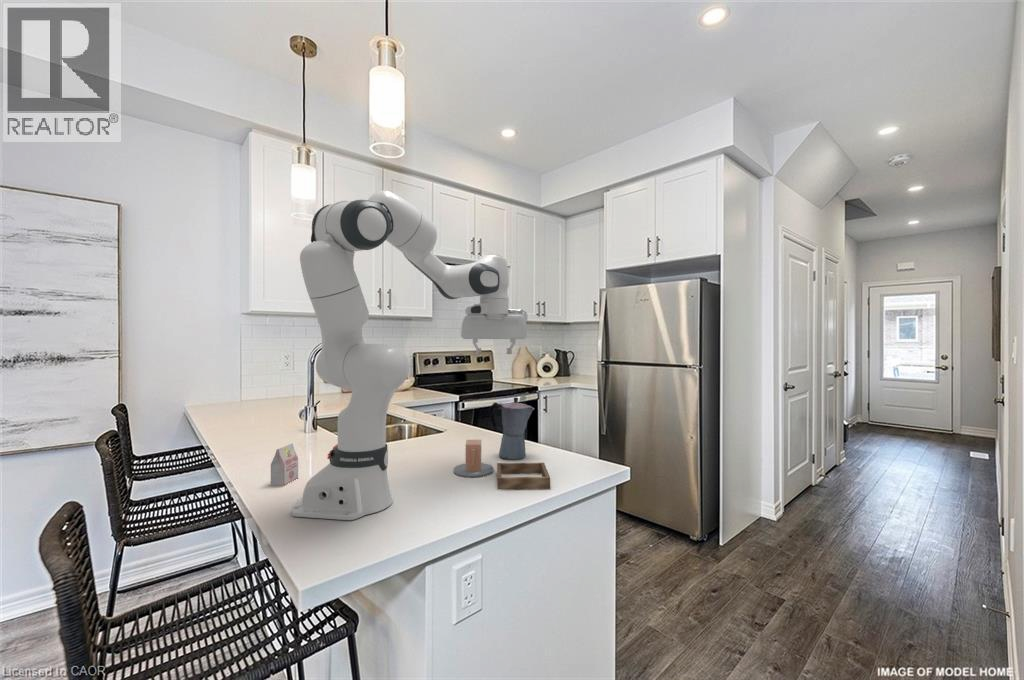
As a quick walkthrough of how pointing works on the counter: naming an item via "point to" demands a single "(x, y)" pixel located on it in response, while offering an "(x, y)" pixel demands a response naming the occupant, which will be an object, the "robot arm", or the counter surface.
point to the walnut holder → (522, 481)
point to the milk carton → (284, 466)
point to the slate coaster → (461, 471)
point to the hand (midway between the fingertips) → (494, 354)
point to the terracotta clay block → (473, 456)
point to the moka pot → (512, 428)
